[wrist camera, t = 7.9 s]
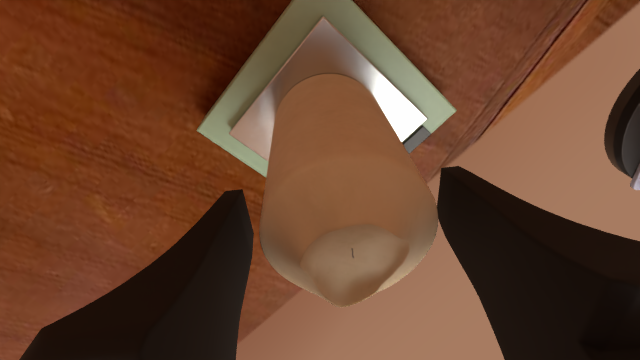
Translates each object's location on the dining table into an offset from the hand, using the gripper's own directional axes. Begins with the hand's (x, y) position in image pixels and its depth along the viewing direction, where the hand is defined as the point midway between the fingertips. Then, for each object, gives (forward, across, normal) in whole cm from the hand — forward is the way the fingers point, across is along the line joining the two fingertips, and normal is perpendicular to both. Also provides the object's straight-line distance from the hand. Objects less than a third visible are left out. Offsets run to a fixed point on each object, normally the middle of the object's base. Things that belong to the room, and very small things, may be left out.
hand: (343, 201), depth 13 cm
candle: (+7, 0, 0) cm, 7 cm away
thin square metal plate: (+7, 0, 0) cm, 7 cm away
